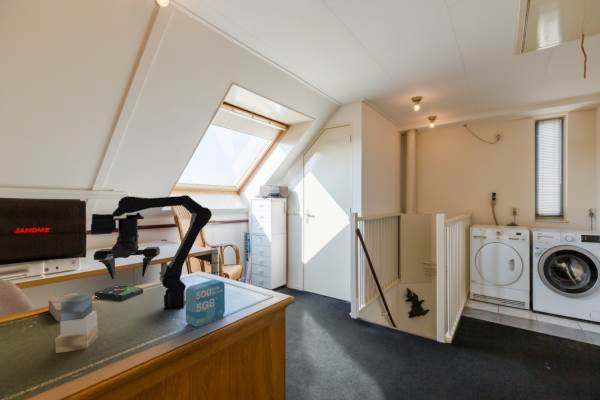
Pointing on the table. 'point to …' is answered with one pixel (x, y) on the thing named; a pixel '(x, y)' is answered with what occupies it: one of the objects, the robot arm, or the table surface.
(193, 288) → the data package
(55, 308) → the brick
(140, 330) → the table surface
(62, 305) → the blue cube
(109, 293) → the disk drive
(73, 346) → the oak slab
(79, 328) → the white slab
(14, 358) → the table surface
